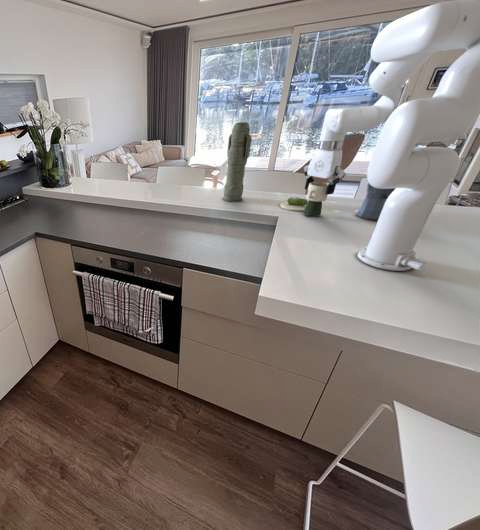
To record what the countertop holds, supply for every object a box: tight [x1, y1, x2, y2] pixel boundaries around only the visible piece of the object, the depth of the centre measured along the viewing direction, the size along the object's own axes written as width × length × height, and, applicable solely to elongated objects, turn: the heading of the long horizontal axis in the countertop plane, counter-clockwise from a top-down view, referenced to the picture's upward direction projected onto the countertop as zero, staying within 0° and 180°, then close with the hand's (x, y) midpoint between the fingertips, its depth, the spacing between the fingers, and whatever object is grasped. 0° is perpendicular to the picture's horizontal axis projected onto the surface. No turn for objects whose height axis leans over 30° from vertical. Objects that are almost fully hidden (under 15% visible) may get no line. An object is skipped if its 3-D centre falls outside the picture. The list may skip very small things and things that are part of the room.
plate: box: [279, 200, 306, 212], centre depth 130 cm, size 13×13×1 cm
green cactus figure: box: [223, 122, 252, 203], centre depth 137 cm, size 9×12×35 cm
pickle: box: [286, 196, 308, 206], centre depth 129 cm, size 8×3×3 cm, turn 46°
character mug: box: [302, 181, 330, 217], centre depth 117 cm, size 11×7×13 cm, turn 120°
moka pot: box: [356, 181, 396, 221], centre depth 108 cm, size 10×15×20 cm, turn 174°
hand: (318, 191), depth 115 cm, fingers open, 9 cm apart
